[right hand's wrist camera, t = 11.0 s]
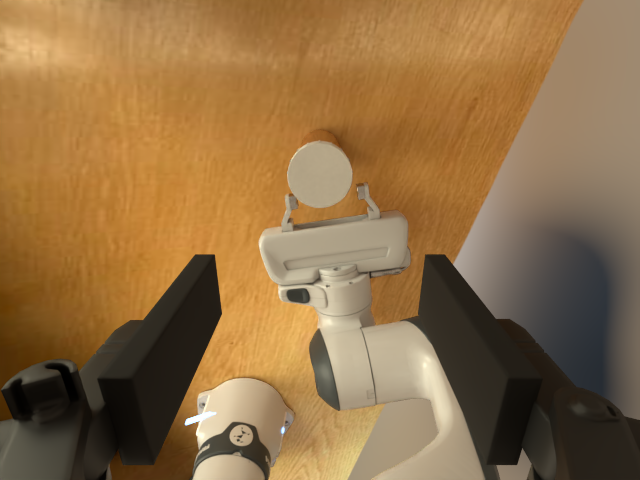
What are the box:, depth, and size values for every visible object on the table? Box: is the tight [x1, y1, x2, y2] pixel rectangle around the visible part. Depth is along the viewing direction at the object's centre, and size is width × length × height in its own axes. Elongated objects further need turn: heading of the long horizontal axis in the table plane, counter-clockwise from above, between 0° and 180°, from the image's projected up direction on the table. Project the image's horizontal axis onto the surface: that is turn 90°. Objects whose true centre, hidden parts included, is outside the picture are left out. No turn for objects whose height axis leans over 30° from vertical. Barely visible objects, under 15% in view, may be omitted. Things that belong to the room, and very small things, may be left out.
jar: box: [299, 130, 341, 149], centre depth 42 cm, size 6×6×18 cm
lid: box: [287, 140, 353, 208], centre depth 34 cm, size 6×6×2 cm
